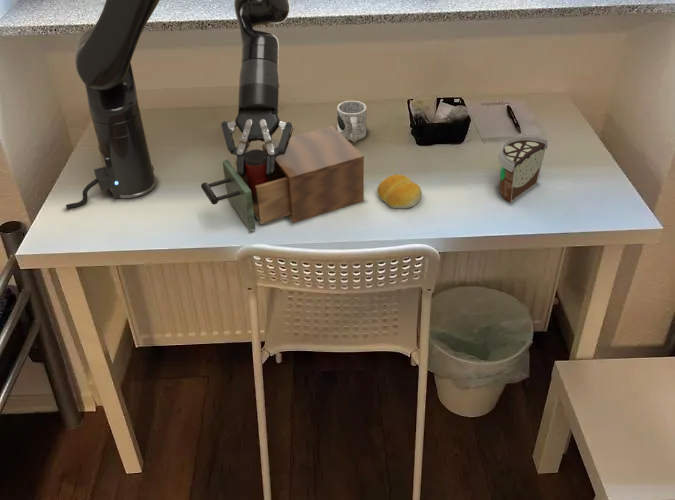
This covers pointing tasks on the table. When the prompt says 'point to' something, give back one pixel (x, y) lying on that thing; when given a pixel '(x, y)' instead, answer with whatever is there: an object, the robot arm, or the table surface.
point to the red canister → (255, 168)
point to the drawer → (253, 196)
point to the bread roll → (399, 191)
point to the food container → (520, 165)
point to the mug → (351, 120)
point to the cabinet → (321, 173)
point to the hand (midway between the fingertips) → (255, 175)
